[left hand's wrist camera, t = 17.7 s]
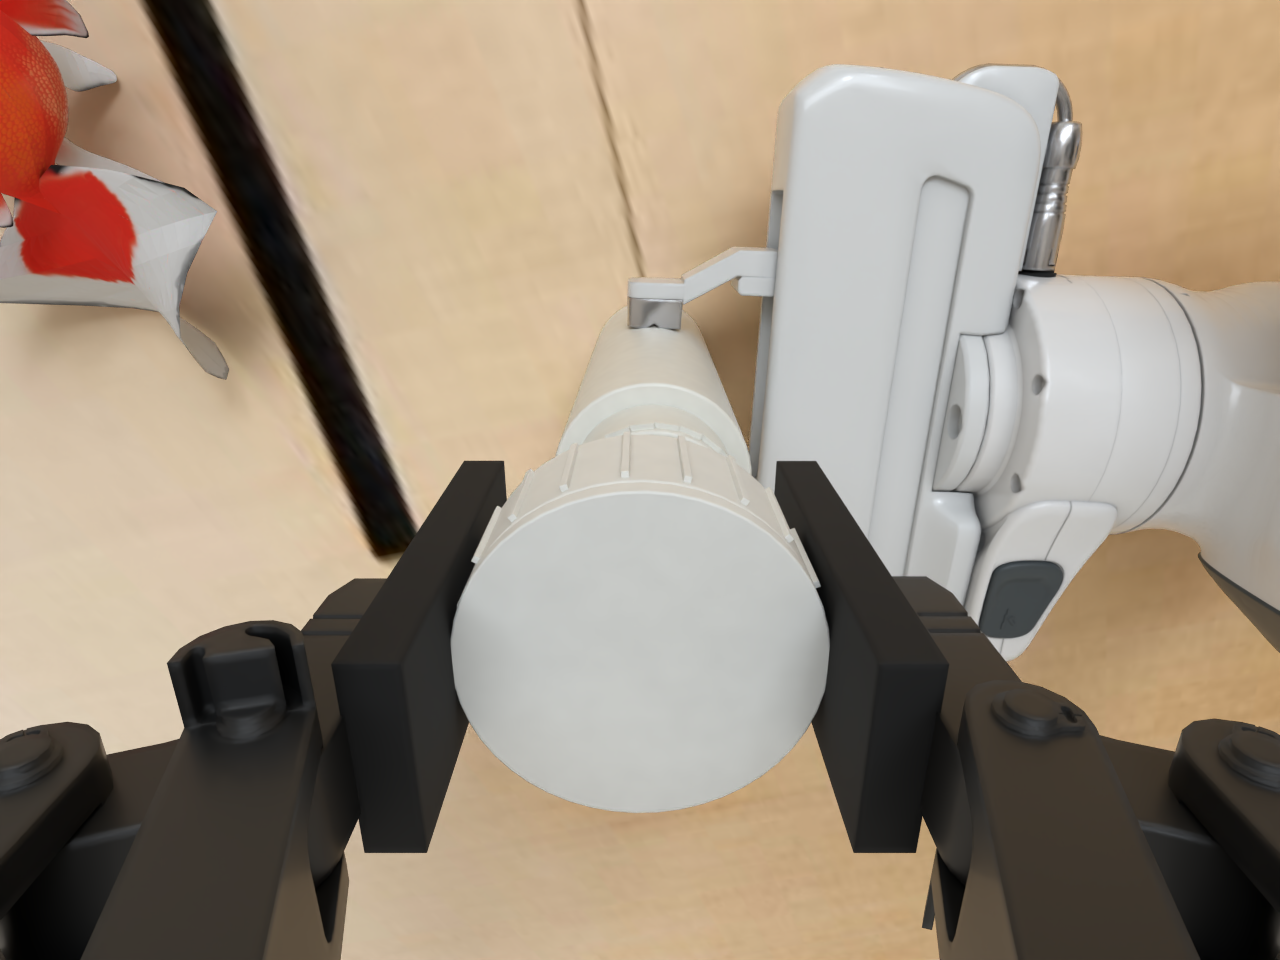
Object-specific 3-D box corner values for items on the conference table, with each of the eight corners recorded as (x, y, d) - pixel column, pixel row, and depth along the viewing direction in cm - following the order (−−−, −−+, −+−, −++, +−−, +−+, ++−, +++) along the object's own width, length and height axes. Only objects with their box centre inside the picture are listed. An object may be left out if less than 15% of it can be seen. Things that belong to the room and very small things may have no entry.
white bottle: (721, 385, 32) (795, 572, 16) (621, 424, 33) (594, 642, 17) (682, 282, 31) (720, 372, 14) (578, 325, 31) (502, 457, 15)
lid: (437, 471, 12) (389, 537, 10) (770, 395, 11) (802, 445, 9) (532, 736, 14) (511, 844, 11) (822, 680, 13) (858, 781, 11)
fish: (146, -155, 22) (-191, -68, 16) (368, 300, 33) (224, 458, 27) (-88, -103, 25) (-442, -15, 19) (186, 294, 36) (20, 433, 30)
